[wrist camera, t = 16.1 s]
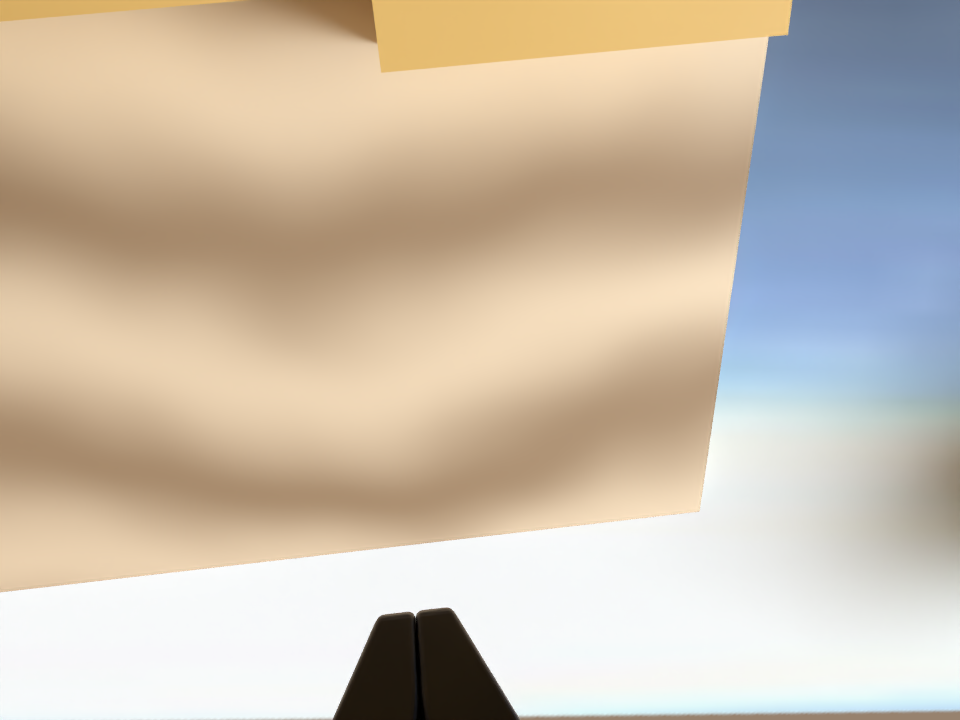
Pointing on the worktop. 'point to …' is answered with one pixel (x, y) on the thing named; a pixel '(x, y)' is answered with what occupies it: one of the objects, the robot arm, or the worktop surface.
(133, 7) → the link
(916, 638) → the worktop surface
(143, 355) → the board
